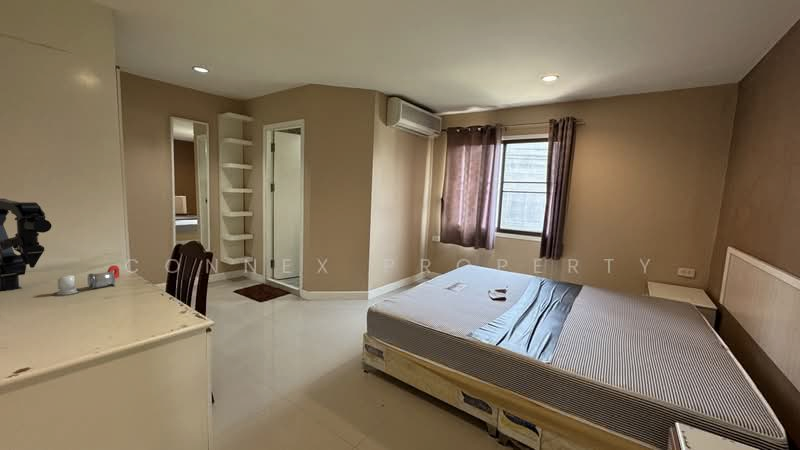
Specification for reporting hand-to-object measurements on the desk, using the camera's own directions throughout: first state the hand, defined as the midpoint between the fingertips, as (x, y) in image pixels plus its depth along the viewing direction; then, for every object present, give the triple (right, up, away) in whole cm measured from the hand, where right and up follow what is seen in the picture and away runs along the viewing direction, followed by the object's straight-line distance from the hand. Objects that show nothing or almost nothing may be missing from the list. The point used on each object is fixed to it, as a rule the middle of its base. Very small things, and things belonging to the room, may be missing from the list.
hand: (29, 266), depth 140 cm
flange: (+14, -13, +3) cm, 19 cm away
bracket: (+14, -11, +22) cm, 28 cm away
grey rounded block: (+20, -12, +13) cm, 27 cm away
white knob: (+14, -12, +3) cm, 19 cm away
